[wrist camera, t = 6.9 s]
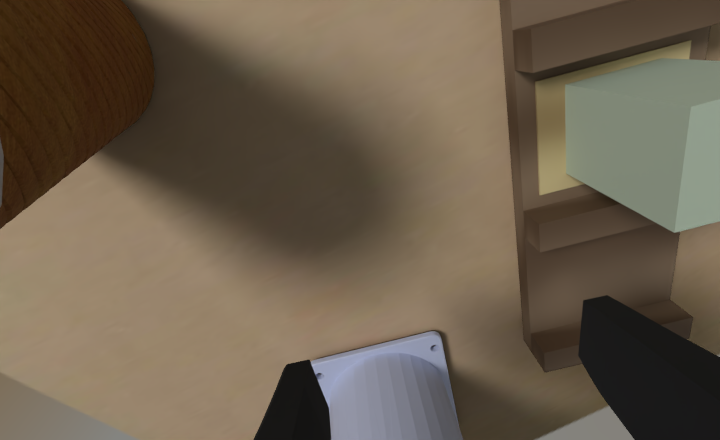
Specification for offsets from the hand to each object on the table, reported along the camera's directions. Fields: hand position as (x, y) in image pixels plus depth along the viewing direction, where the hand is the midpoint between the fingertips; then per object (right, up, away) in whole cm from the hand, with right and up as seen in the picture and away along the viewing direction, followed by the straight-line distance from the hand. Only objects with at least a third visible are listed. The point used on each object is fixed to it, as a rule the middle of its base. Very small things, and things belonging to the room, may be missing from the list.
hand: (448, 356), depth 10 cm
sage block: (+9, +8, +6) cm, 13 cm away
